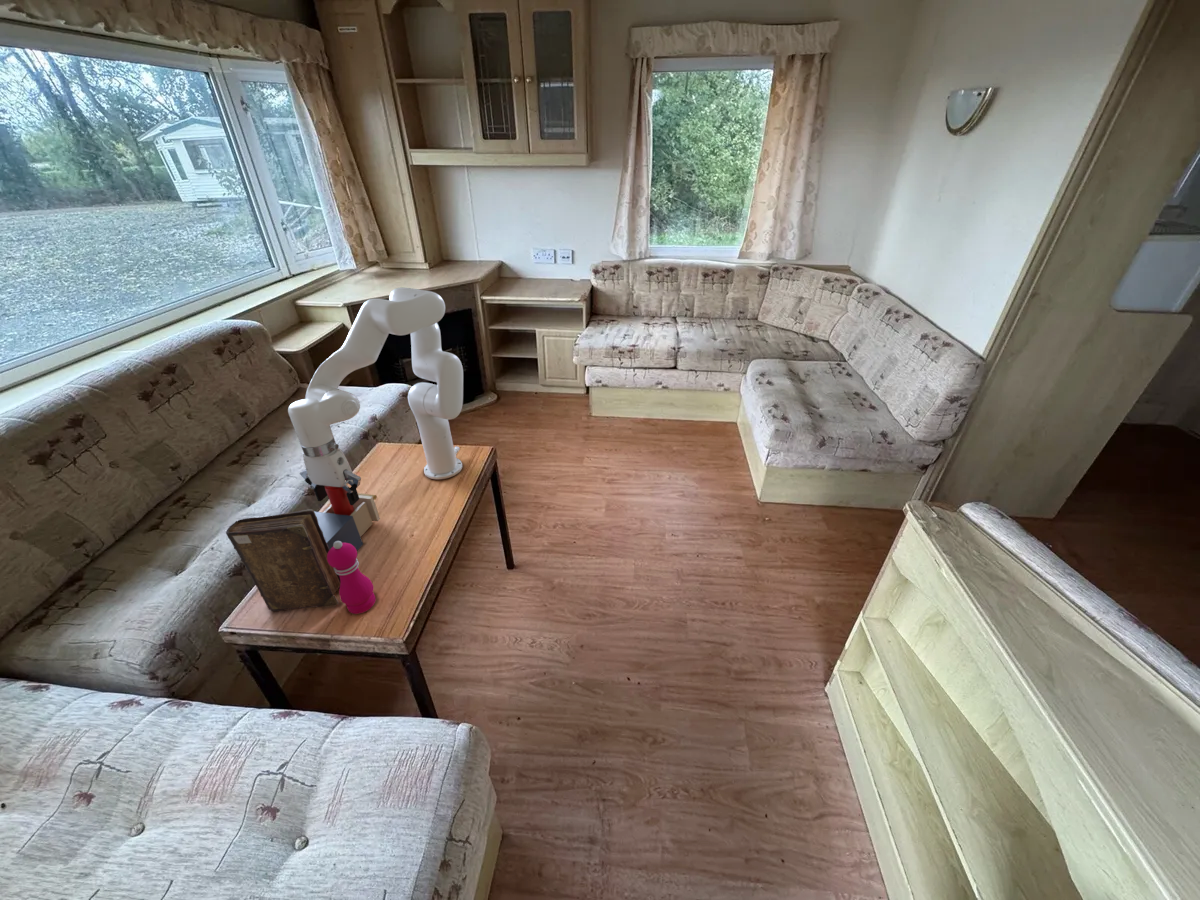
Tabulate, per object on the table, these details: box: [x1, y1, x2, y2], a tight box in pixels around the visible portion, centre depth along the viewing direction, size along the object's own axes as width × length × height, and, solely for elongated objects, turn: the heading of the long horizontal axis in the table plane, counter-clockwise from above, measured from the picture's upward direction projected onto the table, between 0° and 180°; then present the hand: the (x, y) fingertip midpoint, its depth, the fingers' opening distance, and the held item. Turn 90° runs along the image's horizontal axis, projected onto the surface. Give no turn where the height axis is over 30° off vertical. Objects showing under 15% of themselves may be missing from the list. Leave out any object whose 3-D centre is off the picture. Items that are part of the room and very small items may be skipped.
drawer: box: [323, 492, 381, 537], centre depth 136 cm, size 18×10×8 cm, turn 169°
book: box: [225, 508, 341, 612], centre depth 110 cm, size 17×7×25 cm, turn 93°
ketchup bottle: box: [325, 486, 355, 516], centre depth 131 cm, size 5×5×18 cm
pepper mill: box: [327, 541, 377, 615], centre depth 110 cm, size 7×7×20 cm
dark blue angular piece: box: [314, 510, 364, 552], centre depth 125 cm, size 15×12×10 cm
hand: (339, 500), depth 131 cm, fingers open, 9 cm apart
